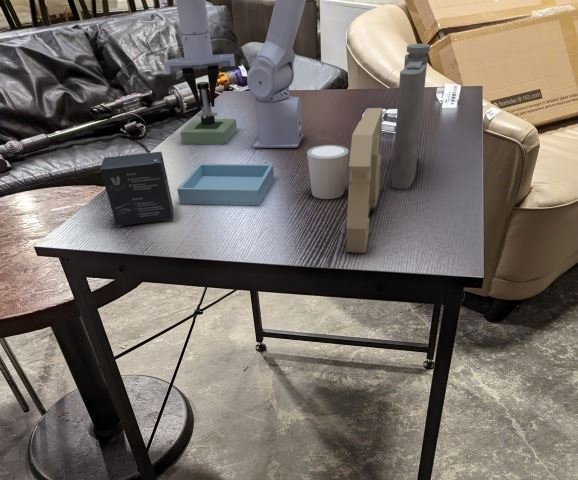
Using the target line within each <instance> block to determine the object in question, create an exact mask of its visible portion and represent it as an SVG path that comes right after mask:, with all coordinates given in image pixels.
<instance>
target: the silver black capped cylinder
mask: <svg viewBox="0 0 578 480" xmlns="http://www.w3.org/2000/svg"><path fill="white" fill-rule="evenodd" d="M196 86H197V90H198V95H199V100H200V106H201V112H198V113H197V116H198V117H200V119H201V122H202V125H212V124H214V123H215V119H216V118H215V117H216V116H217V115H218V114H217V112H212V107H211V101H210V91H209V89H210V88H209V81H199V82H196Z"/></svg>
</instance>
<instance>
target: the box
mask: <svg viewBox="0 0 578 480" xmlns="http://www.w3.org/2000/svg"><path fill="white" fill-rule="evenodd" d="M166 171H167V170H166V166H165V161H164V157H163V152H162V151H154V152H153V151H152V152H144V153H136V154H135V153H134V154H125V155H117V156H108V157H107V156H106V157H104V158H103V160H102V163H101V165H100V168H99V172H100V175H101V177H102V182H103V185H104V188H105V191H106V194H107V197H108V201H109V205H110V209H111V212H112V215H113V219H114V223H115V225H116V227H117V228H120V227H123V226H128V225H129V226H130V225H137V224H145V223H155V222H162V221H168V222H169V221H173V220H174V205H173V200H172V195H171V189H170V185H169V180H168V174H167V172H166Z"/></svg>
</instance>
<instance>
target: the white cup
mask: <svg viewBox="0 0 578 480" xmlns="http://www.w3.org/2000/svg"><path fill="white" fill-rule="evenodd" d="M349 153H350V151H349V149H348V148H347V147H345V146H343V145H337V144H324V145H323V144H322V145H317V146H314V147H311V148H310V149H308V150H307V152H306V155H307V164H308V172H309V182H310V189H311V194H312V196H313V197H314V198H316V199H320V200H332V199H333V200H334V199H337V198H341V197H342V196H343V195H344V194H345V188H346V179H347V171H348V170H347V169H348V163H349V162H348V160H349Z"/></svg>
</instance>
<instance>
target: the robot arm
mask: <svg viewBox="0 0 578 480" xmlns="http://www.w3.org/2000/svg"><path fill="white" fill-rule="evenodd" d="M306 2H307V0H275V2H274V5H273V10H272V14H271V18H270V21H269V27H268V30H267V34H266V38H265V41H264V42H263V45H261V47H260V49H259V51H258V52H257V54H256V57H255V61H254V64H253V65H252V66H251V67H250V69H249V70H248V73H247V75H246V83H247V87H248V90H249V92H250V94H251V95H252V96H253V97H254V103H255V105H254V106H255V114H256V115H255V116H256V126H257V127H256V128H257V139H256V141H255V143H254V144H253V148H254V149H296V148H298V147H299V145H300V143H301V142H302V140H303V138H304V133H303V111H302V110H303V109H302V100H301V97H299V96H291V93H290V86H291V85H292V84H293V82H294V79H295V70H294V63H295V59H296V54H295V51H294V44H295V41H296V38H297V34H298V30H299V27H300V24H301V20H302V16H303V13H304V9H305V6H306ZM175 4H176V11H177V16H178V25H179V29H180V36H181V40H182V48H183V53H184V57H179V58H174V59H166V60H163V64H164V71H165V73H166V74H167V73H172V72H180V71H182V76H183V78H184V80H185V82H186V83H187V86H188V87H189V88H190V91H191V93H192V95H193V98H194V101H195V104H196V107H197V109H202V107H201V101H200V95H199V90H198V89H197V79H196V74H195V73H196V72H195V70H200V69H201V70H202V69H206V72H207V79H208V83H209V88H208V89H209V99H210V105H211V108H215V97H216V88H217V84H218V79H219V76H220V68H221V67H236V60H235V55H234V53H227V54H213V49H212V40H211V33H210V25H209V19H208V12H207V4H206V0H175Z"/></svg>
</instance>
